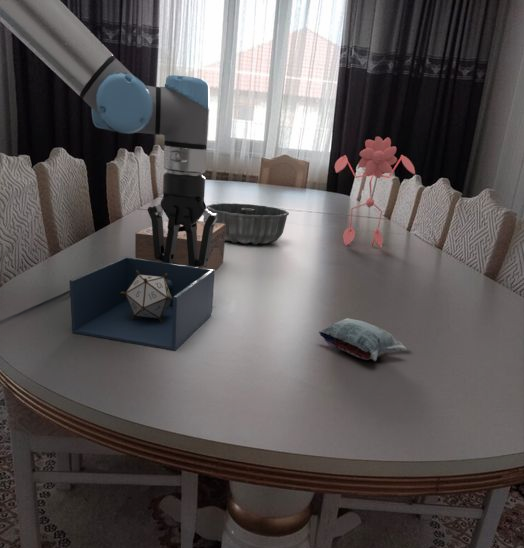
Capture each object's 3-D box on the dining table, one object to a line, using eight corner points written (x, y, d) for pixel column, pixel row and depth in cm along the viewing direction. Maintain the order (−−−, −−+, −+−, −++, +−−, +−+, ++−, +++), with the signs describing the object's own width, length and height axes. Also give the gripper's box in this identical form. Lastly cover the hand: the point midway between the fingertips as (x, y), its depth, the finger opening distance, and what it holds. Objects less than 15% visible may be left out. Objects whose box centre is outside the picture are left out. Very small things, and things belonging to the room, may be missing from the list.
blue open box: (175, 350, 79) (176, 297, 75) (71, 332, 81) (69, 280, 78) (228, 298, 106) (231, 257, 103) (149, 286, 109) (150, 245, 105)
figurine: (322, 241, 180) (337, 132, 167) (394, 247, 183) (414, 140, 170) (330, 250, 166) (347, 132, 153) (408, 256, 169) (431, 141, 155)
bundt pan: (198, 243, 157) (200, 209, 153) (210, 229, 181) (211, 199, 177) (285, 252, 157) (289, 218, 153) (285, 237, 181) (288, 207, 177)
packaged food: (350, 336, 92) (354, 309, 90) (405, 360, 84) (410, 331, 82) (315, 345, 87) (319, 317, 85) (370, 371, 79) (376, 341, 77)
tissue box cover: (169, 256, 137) (170, 217, 133) (223, 262, 136) (225, 224, 132) (135, 279, 113) (135, 233, 110) (199, 287, 112) (202, 241, 108)
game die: (137, 337, 91) (112, 285, 91) (181, 317, 93) (157, 267, 93) (140, 329, 82) (112, 272, 82) (188, 308, 85) (161, 252, 84)
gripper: (135, 168, 91) (134, 296, 100) (220, 179, 89) (211, 309, 98) (152, 167, 98) (150, 287, 107) (231, 177, 96) (223, 298, 105)
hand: (179, 297), depth 102 cm, fingers closed on blue open box, 3 cm apart
